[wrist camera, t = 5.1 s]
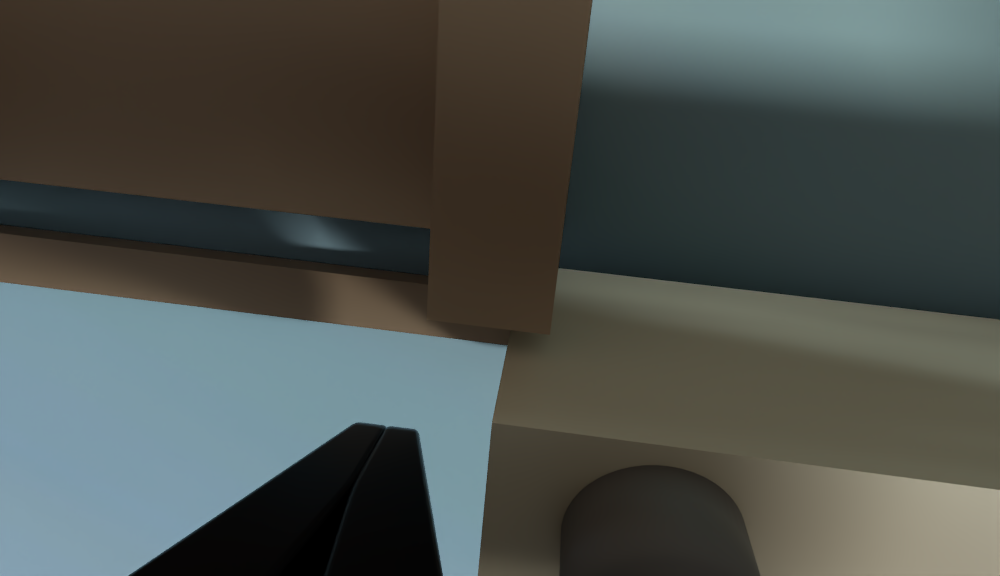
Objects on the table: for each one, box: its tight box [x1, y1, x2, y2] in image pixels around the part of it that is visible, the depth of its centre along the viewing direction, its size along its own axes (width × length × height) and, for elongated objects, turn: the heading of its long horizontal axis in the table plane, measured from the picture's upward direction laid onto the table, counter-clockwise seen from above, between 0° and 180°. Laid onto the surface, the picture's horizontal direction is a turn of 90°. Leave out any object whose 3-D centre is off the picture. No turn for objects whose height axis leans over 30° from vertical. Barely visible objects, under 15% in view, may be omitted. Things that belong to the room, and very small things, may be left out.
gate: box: [478, 268, 1000, 576], centre depth 7 cm, size 2×9×4 cm, turn 85°
